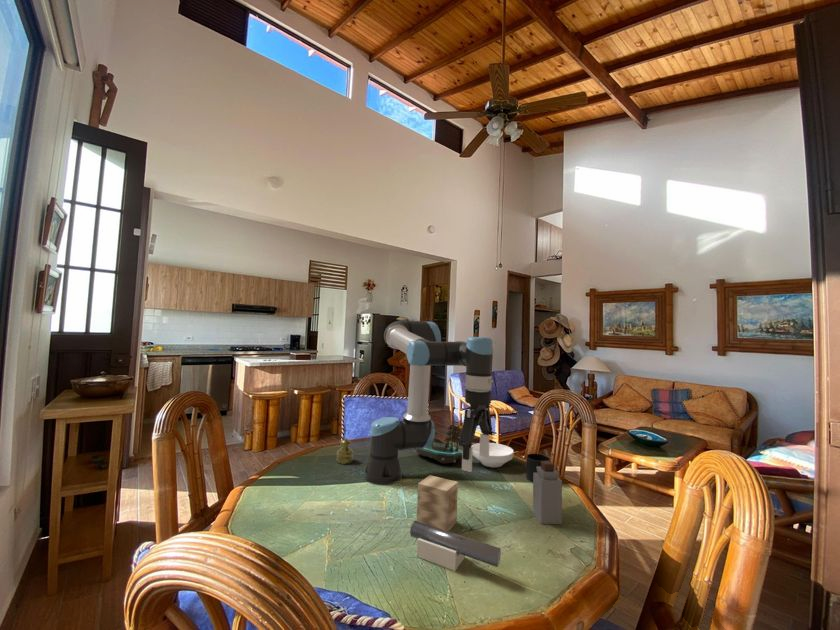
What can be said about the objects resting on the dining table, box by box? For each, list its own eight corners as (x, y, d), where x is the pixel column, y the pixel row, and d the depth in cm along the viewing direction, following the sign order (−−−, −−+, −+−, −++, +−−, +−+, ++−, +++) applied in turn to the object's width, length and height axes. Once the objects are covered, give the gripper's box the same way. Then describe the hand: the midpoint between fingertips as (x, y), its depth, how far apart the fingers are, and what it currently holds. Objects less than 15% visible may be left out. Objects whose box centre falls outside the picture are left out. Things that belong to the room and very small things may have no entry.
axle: (410, 539, 98) (409, 526, 98) (417, 531, 102) (417, 517, 101) (495, 570, 86) (495, 555, 86) (500, 559, 90) (500, 544, 89)
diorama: (449, 469, 157) (452, 424, 159) (406, 456, 173) (410, 415, 175) (471, 462, 171) (474, 421, 174) (430, 451, 187) (433, 413, 190)
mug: (547, 488, 141) (548, 464, 142) (521, 478, 151) (522, 456, 151) (560, 482, 148) (560, 459, 148) (534, 473, 157) (534, 452, 157)
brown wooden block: (416, 524, 111) (417, 483, 112) (428, 513, 118) (429, 475, 119) (445, 534, 106) (447, 491, 107) (456, 522, 113) (457, 482, 114)
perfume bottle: (532, 513, 120) (533, 459, 121) (552, 513, 121) (552, 459, 122) (541, 524, 114) (541, 466, 115) (561, 523, 114) (562, 466, 115)
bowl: (488, 475, 152) (488, 458, 153) (462, 460, 170) (462, 445, 170) (522, 468, 161) (523, 452, 162) (494, 455, 179) (495, 440, 179)
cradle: (416, 556, 95) (417, 539, 95) (428, 544, 101) (429, 528, 101) (454, 571, 90) (455, 552, 90) (465, 557, 95) (465, 540, 96)
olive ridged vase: (333, 462, 162) (334, 440, 162) (342, 457, 169) (343, 436, 169) (347, 465, 159) (347, 442, 159) (356, 460, 166) (356, 438, 166)
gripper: (474, 397, 92) (471, 481, 92) (503, 386, 114) (501, 453, 113) (448, 394, 96) (445, 474, 95) (481, 383, 118) (479, 448, 117)
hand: (475, 463), depth 104 cm, fingers open, 13 cm apart
